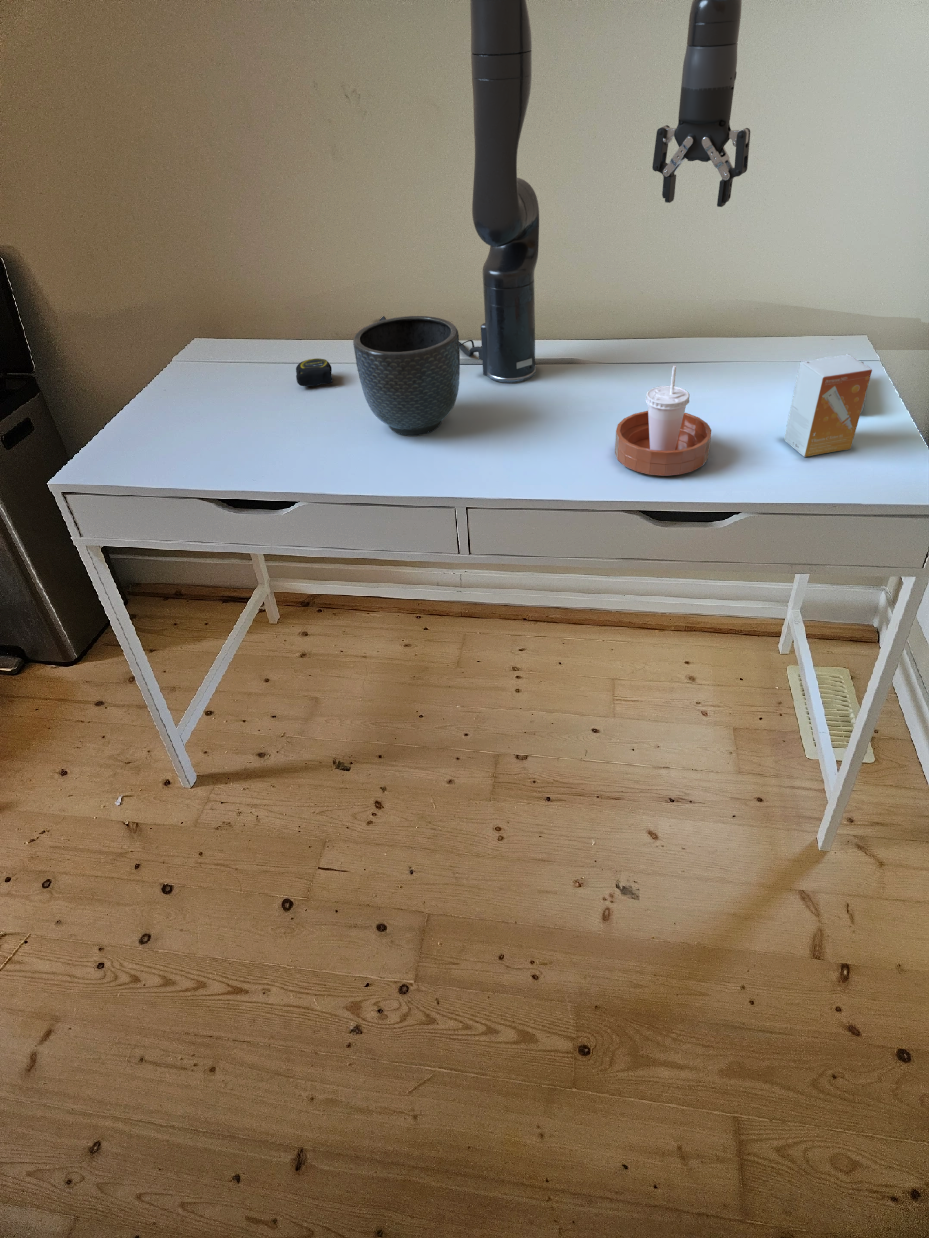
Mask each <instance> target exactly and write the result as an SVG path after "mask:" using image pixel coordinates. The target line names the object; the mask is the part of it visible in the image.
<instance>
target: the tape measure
mask: <svg viewBox="0 0 929 1238" xmlns="http://www.w3.org/2000/svg"><path fill="white" fill-rule="evenodd" d="M332 371H333V370H332V365H331V363H330V362H329V360H326V359H325V358H308V359H305V360H302V361H301V362H299V363H297V365H296V366H295V374H296V375H295V379H296V383H297V385H298V386H300V387H311V386H312V387H317V386H320V385H326V384H331V383H333V375H332V373H333V372H332Z"/></svg>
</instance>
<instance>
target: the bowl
mask: <svg viewBox="0 0 929 1238" xmlns="http://www.w3.org/2000/svg"><path fill="white" fill-rule="evenodd" d="M711 440H712V428H711V427H710V425H709V424H708V422H706V421H705V420H703V419H702V418H700V417H698V416H696V415H694V414H690V413H688V412H684V416H683V420H682V424H681V428H680V432H679V436H678V440H677V444H676V448H675V450H672V451H661V450H651V449H650V439H649V418H648V410H644V411H639V412H635V413H633V414H630V415H628V416H626V417H624V418H623V419H622V420H621V421H619V422H618V424H617V425H616V430H615V443H614V455H615V458H616V460H617V461H618V462H619V463H620V464H621V465H623V467H625V468H627V469H629V470H632V471H634V472H637V473H641V474H645V475H649V476H662V477H664V476H679V475H683V474H688V473H691V472H694V471H696V470H698V469H699V468H702V467H703V466H704V465H705V463H706V462H707V461H708V460H709V455H710V454H709V453H710V447H711Z"/></svg>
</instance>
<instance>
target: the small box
mask: <svg viewBox="0 0 929 1238" xmlns="http://www.w3.org/2000/svg"><path fill="white" fill-rule="evenodd" d="M862 362H863V361H862ZM862 362H860V360H859V359H857V358H856V357H854V356H853V355H851V354H850V353H846V354H841V355H834V356H825V357H820V358H815V359H809V360H802V361H800V362H799V366H798V370H797V374H796V375H797V376H796V380H795V383H794V390H793V395H792V398H791V404H790V409H789V412H788V413H789V414H788V417H787V423H786V428H785V433H784V437H783V441H784V442H786V443H787V444H788V445H789V446H791V447H792V448H793V449H794V450H795V451H796V452H798V454H799V455H801V456H803V458H804V457H805V458H806V457H811V456H817V455H823V454H828V453H833V452H839V451H848V450H849V451H850V450H851V449H852V445H853V441H854V438H855V435H856V432H857V428H858V424H859V420H860V416H861V413H862V412H861V409H862V406H863V402H864V398H865V395H866V396H867V391H868V387H869V383H870V381H871V376H872V372H873V368H872V367H870V366H868V365H867V364H865V363H864V364H863V363H862Z"/></svg>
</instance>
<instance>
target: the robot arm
mask: <svg viewBox="0 0 929 1238" xmlns="http://www.w3.org/2000/svg"><path fill="white" fill-rule="evenodd" d="M469 2H470V5H469V6H470V61H471V64H470V65H471V83H472V101H473V135H474V137H473V138H474V167H473V185H472V186H473V187H472V203H471V204H472V205H471V215H472V222H473V226H474V229H475V231H476V234H477V236H478V237H479V238H480V239H481V241H482V242H483V243H485V244H486V245H488V246H489V251H488V254H487V257H486V259H485V262H484V264H483V266H482V286H483V287H482V289H483V305H484V306H483V308H484V309H483V310H484V311H483V312H484V322H483V323H482V324H481V325H480V341H481V343H480V344H481V345H480V346H474V347H473V348H472V347H470V349H467V348H466V346H465V345H464V344H462V342H460V341H459V345H460V344H462V345H461V346H459V350H460V351H461V352H462V353H463V354H464V355H466V357H473V356H474V354H475V353H478V360H481V361H482V362H481V363H482V375H484V376H487V377H488V378H489V379H490V380H493V381H496V382H500V383H517V382H523V381H527V380H529V379H532V378H533V377H534V376H535V375H536V373H537V366H536V297H535V296H536V295H535V292H536V290H535V288H536V287H535V285H536V284H535V272H536V266H537V263H538V258H539V250H540V247H539V245H540V206H539V200H538V196H537V194H536V191H535V190H534V188H533V186H532V185H531V184H530V183H529V182H527V180H525V179H523V178H521V177H518V152H519V151H518V149H519V144H520V139H521V135H522V131H523V126H524V123H525V119H526V116H527V111H528V107H529V104H530V103H529V102H530V97H531V92H532V91H531V90H532V81H533V80H532V79H533V74H532V73H533V69H532V68H533V67H532V65H533V50H532V49H533V40H532V28H531V27H532V26H531V21H530V14H529V9H528V3H527V0H470V1H469ZM742 3H743V0H692V2H691V4H690V5H691V6H690V10H689V17H688V26H687V37H686V39H687V40H686V48H685V53H684V58H683V65H682V73H681V74H682V75H681V83H680V84H681V85H680V93H679V94H680V96H679V105H678V122H677V126H676V127H671V126H669V125H668V124H666V125H664V126H661V127H659V128H657V130H656V133H655V135H656V136H655V141H654V152H653V160H652V166H651V167H652V168H651V169H652V171H654V172H658V173H659V174H661V175H662V179H663V181H662V191H661V192H662V193H661V196H662V199H664V203H668V204H670V203H672V202H674V200H675V195H676V183H677V174H675V173H676V172H677V170H678V169H679V167H680V166H681V165H682V164H683V163H684V162H685V160H687V162H695V161H699V162H701V163H708V162H710V161H711V163H712V165H713V166H714V168H715V169H717V172H718V174H719V175H720V177H721V180H719V186H718V194H717V201H716V207H718V208H723V207H724V206H726V204H727V202H730V199H731V197H732V196H731V195H732V188H733V181H734V178H737V177H740V176H742V175H743V174H746V172H747V171H748V167H749V154H750V143H751V142H750V141H751V129H750V128H748V127H745V128H742V129H732V128H731V123H730V121H731V116H732V107H733V101H734V100H733V99H734V91H735V85H736V84H735V83H736V80H737V73H738V72H737V67H738V45H739V44H738V42H739V35H740V26H741V18H742V6H743V5H742ZM673 139H674V140H675V142H676V144H677V146H678V149H677V150H676V152H675V153H674V154H673V155H672V157H671V159H670V160H669V162H668V163H667V158H668V150H669V144H670V143H671V142H672V141H673ZM730 140H731V142H732V146H733V147H734V148H735V155H734V166H733V164H732V162H731V160H730V156H729V153H728V152H727V149H726V148H725V146H726V145H727V143H728V142H729V141H730ZM382 316H383V317H382ZM382 316H381V317H382V318H381V317H380V318H381V319H380V318H379V320H378V322H379V321H382V320H386V319H387V318H386V316H384V315H382Z"/></svg>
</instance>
